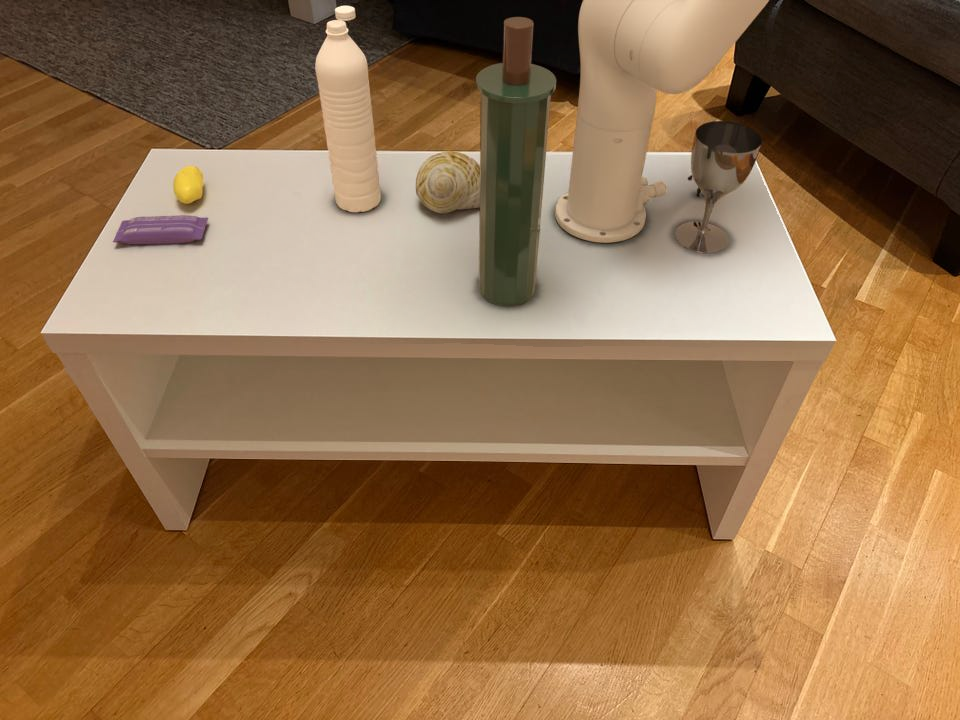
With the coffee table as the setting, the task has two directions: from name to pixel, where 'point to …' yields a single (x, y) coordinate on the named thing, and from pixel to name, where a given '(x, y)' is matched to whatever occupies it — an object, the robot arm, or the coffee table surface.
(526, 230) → the green cylindrical vase
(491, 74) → the lid
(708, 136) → the wine glass
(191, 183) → the lemon
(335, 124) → the water bottle
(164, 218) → the snack package
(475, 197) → the seashell
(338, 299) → the coffee table surface
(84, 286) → the coffee table surface
